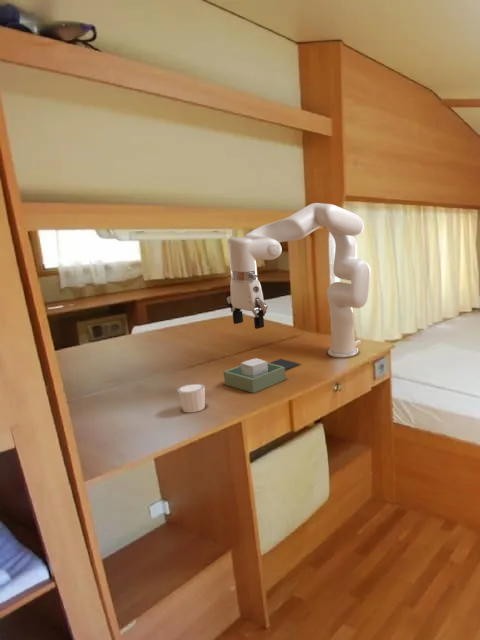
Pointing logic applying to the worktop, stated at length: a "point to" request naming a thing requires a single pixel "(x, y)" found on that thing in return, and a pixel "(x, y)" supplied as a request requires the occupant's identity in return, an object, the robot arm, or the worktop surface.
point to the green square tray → (257, 383)
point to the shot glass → (192, 397)
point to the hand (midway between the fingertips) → (248, 325)
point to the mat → (285, 363)
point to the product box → (254, 368)
